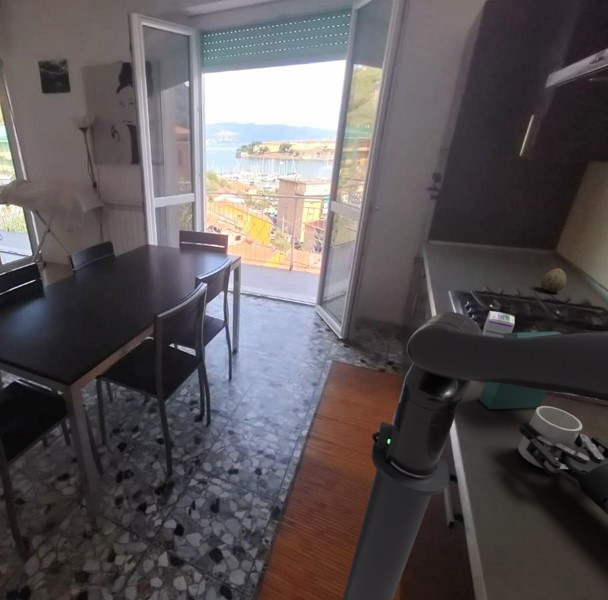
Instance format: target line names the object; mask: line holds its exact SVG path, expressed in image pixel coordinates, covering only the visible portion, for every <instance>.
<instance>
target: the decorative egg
mask: <svg viewBox="0 0 608 600" xmlns="http://www.w3.org/2000/svg"><path fill="white" fill-rule="evenodd" d="M566 285H567V275H566V273H565V271H564V270H563V269H562V268H560V267H556V268H553V269H551V270H550V271H547V272H546V273H545V274H544V275H543V276H542V278H541V280H540V287H541V289H543V290H544V291H545V292H547V293H557V292H559V291H561V290H562V289H564V287H566Z"/></svg>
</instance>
